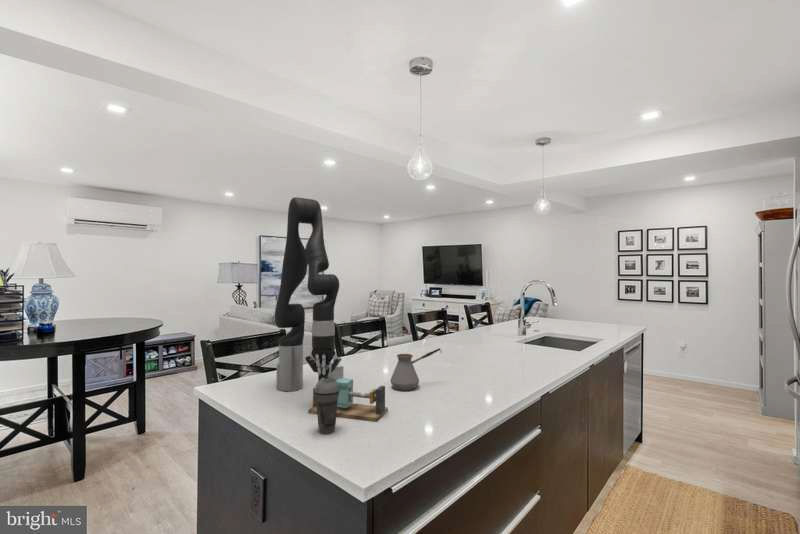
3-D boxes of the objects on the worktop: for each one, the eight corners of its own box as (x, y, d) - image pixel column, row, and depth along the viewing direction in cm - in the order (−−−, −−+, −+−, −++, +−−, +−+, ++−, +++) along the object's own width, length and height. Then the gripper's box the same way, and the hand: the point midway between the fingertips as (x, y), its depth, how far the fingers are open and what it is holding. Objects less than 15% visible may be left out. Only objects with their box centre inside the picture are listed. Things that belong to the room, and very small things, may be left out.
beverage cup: (315, 426, 116) (316, 359, 117) (340, 425, 117) (340, 358, 117) (312, 436, 109) (312, 365, 109) (338, 435, 110) (338, 364, 110)
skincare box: (327, 401, 139) (327, 367, 139) (324, 397, 142) (324, 365, 143) (343, 398, 141) (343, 365, 142) (339, 395, 145) (340, 363, 145)
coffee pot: (393, 393, 148) (394, 353, 148) (387, 384, 159) (387, 347, 159) (446, 389, 153) (446, 350, 153) (437, 381, 164) (437, 345, 165)
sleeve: (332, 406, 127) (332, 381, 127) (339, 401, 132) (339, 377, 132) (346, 407, 126) (346, 383, 126) (353, 402, 130) (353, 378, 130)
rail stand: (308, 413, 127) (308, 385, 127) (323, 403, 136) (323, 377, 137) (377, 421, 120) (377, 392, 120) (387, 410, 129) (387, 383, 129)
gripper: (300, 334, 130) (299, 386, 129) (335, 336, 126) (335, 390, 125) (311, 330, 137) (311, 380, 137) (346, 332, 133) (346, 383, 133)
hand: (323, 385), depth 131 cm, fingers closed
